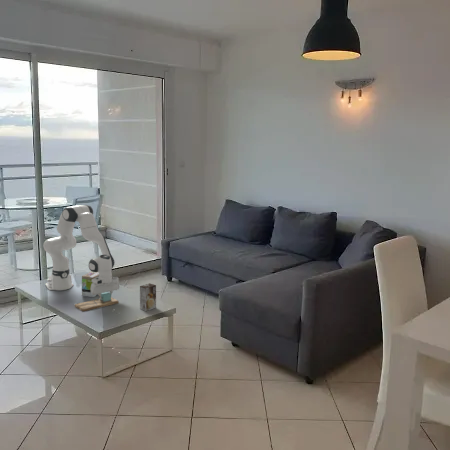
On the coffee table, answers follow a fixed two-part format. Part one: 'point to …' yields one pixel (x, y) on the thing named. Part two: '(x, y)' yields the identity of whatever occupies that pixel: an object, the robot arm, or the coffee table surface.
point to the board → (95, 304)
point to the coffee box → (147, 297)
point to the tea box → (88, 283)
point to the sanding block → (106, 297)
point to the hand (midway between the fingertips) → (105, 298)
